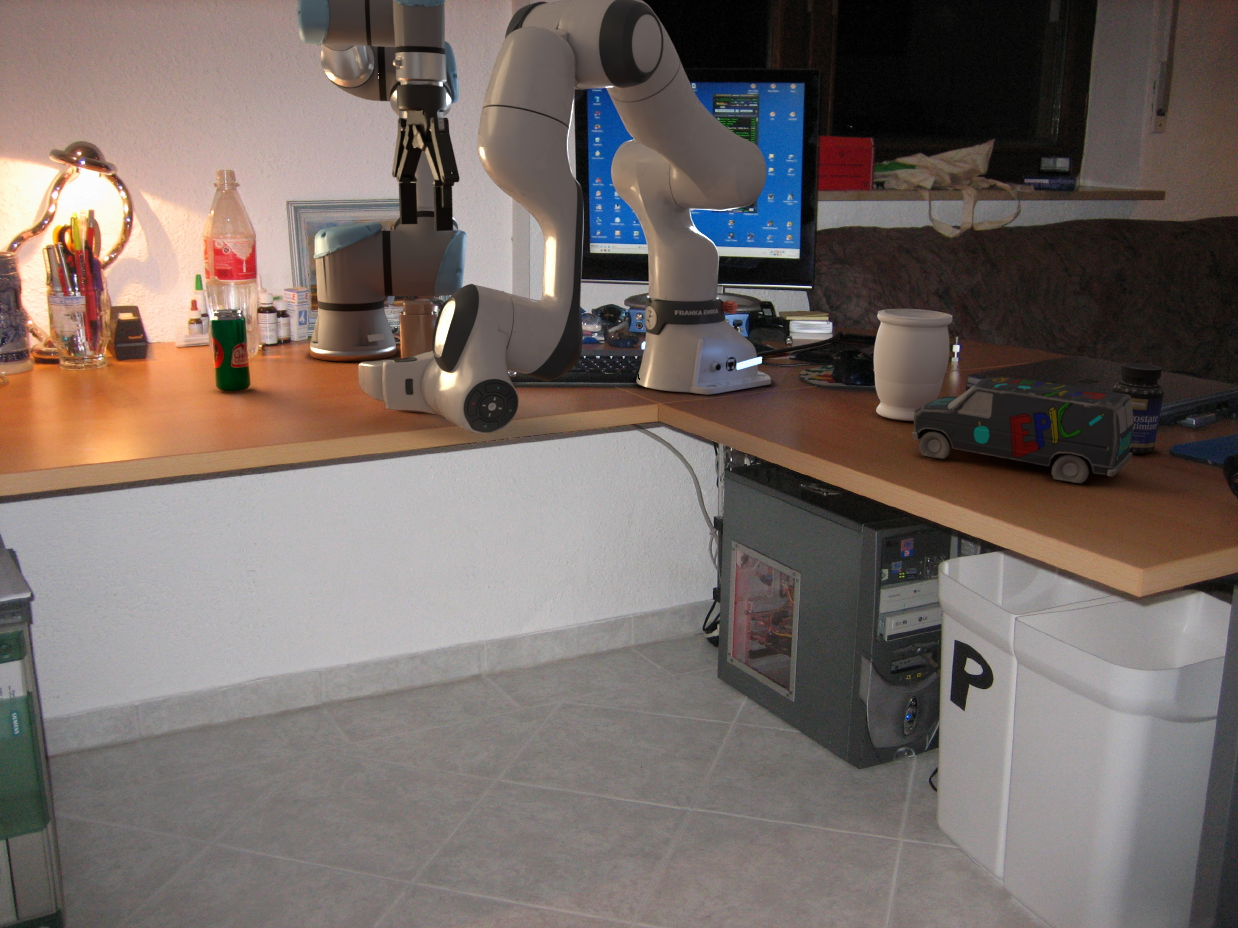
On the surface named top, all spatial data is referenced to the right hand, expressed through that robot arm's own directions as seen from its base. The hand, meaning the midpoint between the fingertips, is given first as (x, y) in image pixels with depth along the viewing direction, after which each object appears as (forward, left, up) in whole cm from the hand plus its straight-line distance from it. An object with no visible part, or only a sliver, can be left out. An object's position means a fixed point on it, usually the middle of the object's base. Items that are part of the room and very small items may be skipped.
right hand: (417, 363), depth 155 cm
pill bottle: (-78, +60, -7) cm, 98 cm away
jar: (-63, +33, -7) cm, 72 cm away
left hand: (-8, -18, +18) cm, 26 cm away
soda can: (+23, -22, -7) cm, 32 cm away
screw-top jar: (0, +1, -7) cm, 7 cm away
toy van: (-59, +58, -7) cm, 83 cm away
